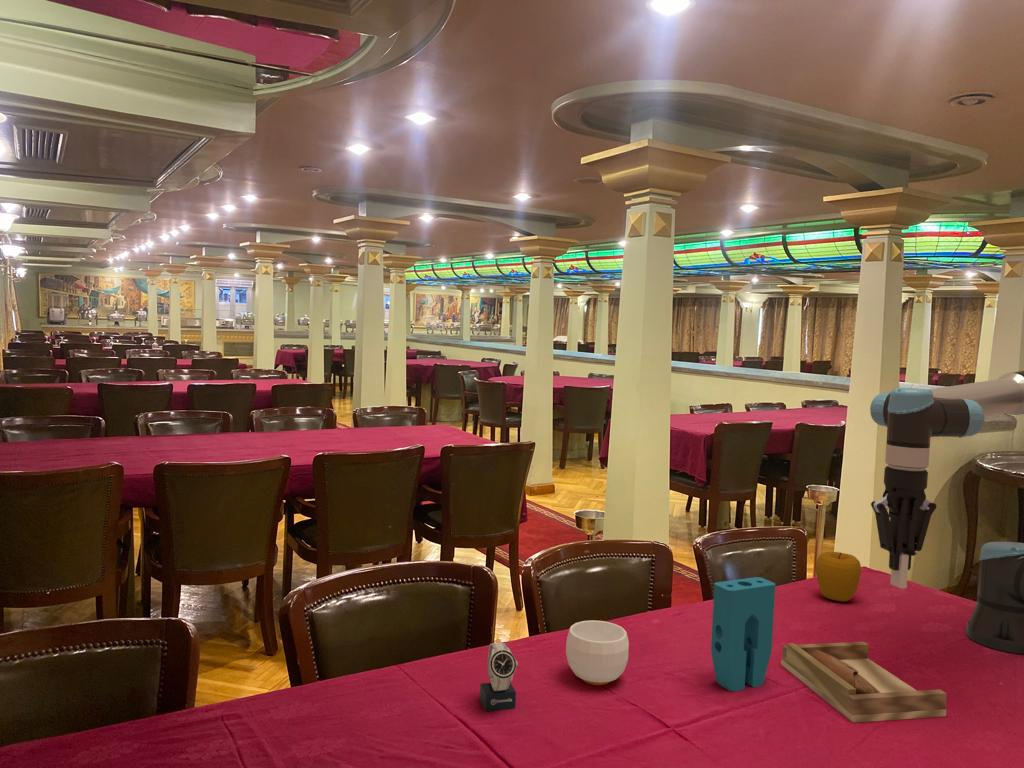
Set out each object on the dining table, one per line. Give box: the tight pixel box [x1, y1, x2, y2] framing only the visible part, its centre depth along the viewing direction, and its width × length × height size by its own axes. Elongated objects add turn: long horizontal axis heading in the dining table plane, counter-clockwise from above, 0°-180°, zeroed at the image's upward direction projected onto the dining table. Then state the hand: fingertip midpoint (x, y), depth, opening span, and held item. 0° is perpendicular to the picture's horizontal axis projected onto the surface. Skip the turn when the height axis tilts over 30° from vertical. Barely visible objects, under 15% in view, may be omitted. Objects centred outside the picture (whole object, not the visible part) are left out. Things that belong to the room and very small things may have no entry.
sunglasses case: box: [804, 648, 880, 694], centre depth 147 cm, size 18×7×7 cm
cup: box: [565, 619, 630, 686], centre depth 148 cm, size 12×12×10 cm
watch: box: [479, 642, 519, 712], centre depth 136 cm, size 6×8×11 cm
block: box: [710, 576, 776, 692], centre depth 148 cm, size 12×5×20 cm, turn 115°
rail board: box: [780, 641, 948, 723], centre depth 147 cm, size 19×24×5 cm
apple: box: [815, 551, 862, 602], centre depth 199 cm, size 11×11×13 cm
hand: (898, 585), depth 148 cm, fingers closed
